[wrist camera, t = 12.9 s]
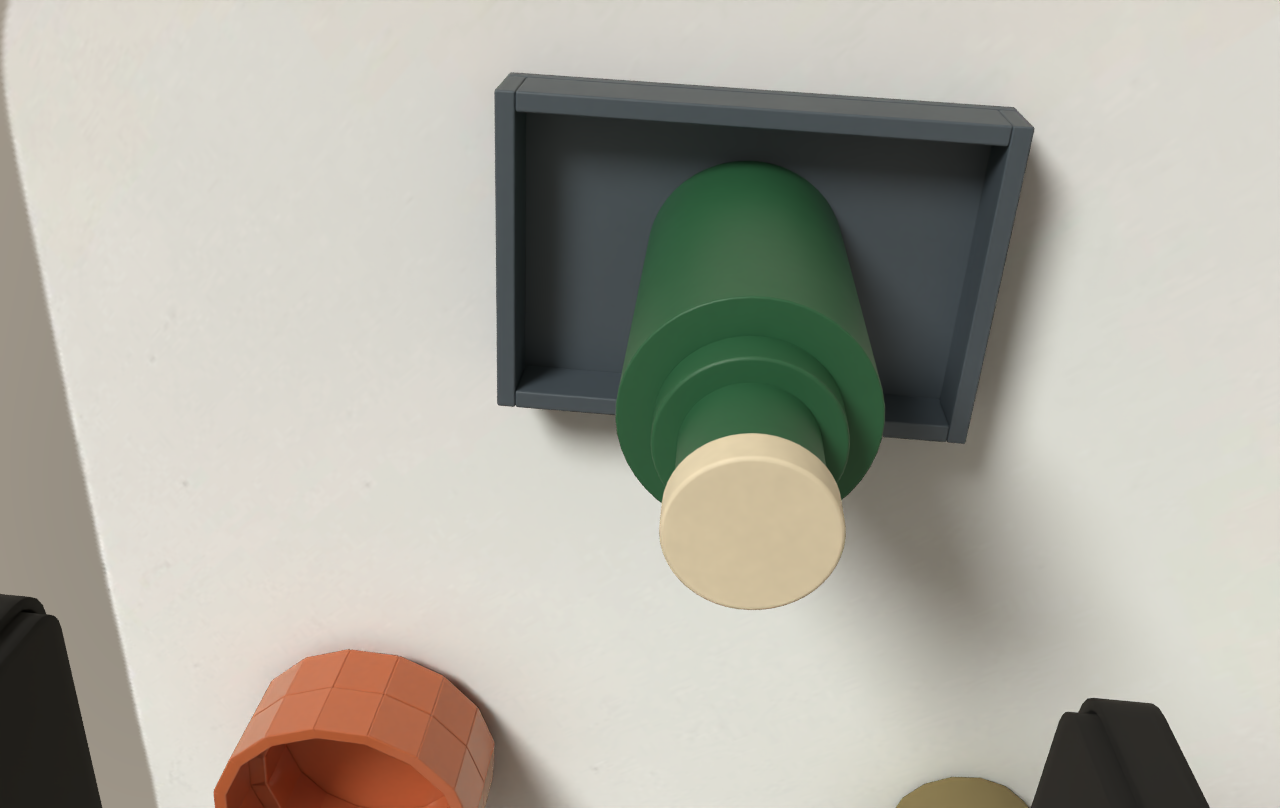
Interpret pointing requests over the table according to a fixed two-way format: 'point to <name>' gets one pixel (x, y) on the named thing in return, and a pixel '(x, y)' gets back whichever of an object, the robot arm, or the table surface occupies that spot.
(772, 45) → the table surface
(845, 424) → the bottle
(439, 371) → the table surface
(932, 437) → the tray
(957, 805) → the squeeze bottle
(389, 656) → the bowl
